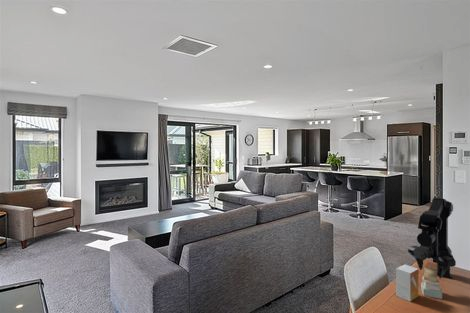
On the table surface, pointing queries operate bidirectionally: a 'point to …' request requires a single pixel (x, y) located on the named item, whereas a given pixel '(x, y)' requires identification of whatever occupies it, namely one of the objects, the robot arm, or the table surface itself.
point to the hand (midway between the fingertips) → (430, 273)
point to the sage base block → (431, 292)
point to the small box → (407, 282)
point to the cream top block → (431, 285)
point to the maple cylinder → (430, 274)
